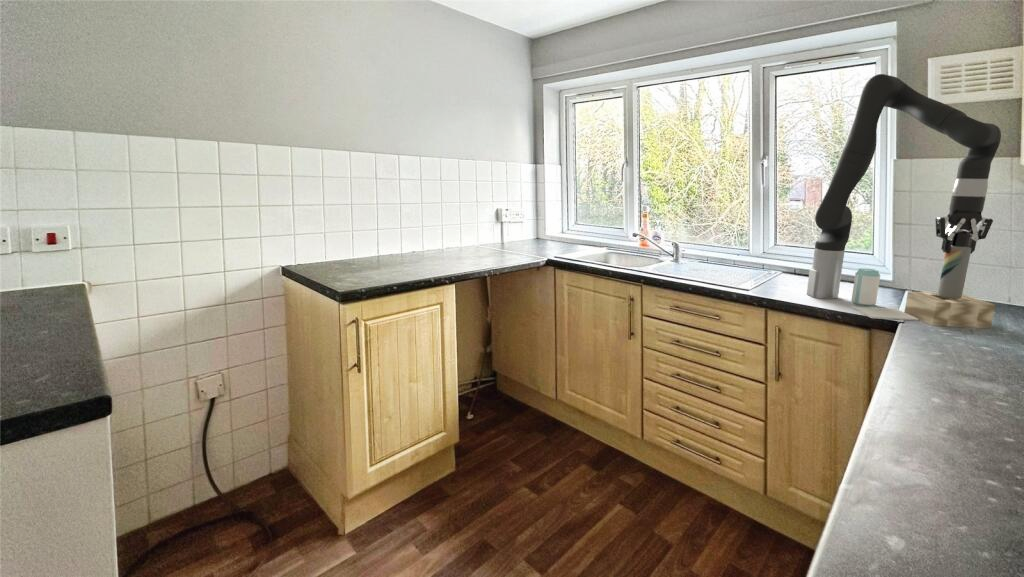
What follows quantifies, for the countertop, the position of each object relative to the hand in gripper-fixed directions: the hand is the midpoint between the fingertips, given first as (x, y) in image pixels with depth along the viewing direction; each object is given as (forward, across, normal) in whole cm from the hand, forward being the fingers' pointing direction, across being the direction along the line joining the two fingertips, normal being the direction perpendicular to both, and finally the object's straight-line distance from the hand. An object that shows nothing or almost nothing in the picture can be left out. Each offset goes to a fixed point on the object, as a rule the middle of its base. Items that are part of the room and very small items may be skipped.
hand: (957, 252), depth 156 cm
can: (+21, -15, +18) cm, 31 cm away
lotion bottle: (+14, 0, 0) cm, 14 cm away
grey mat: (+21, -15, +4) cm, 26 cm away
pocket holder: (+21, 0, 0) cm, 21 cm away
